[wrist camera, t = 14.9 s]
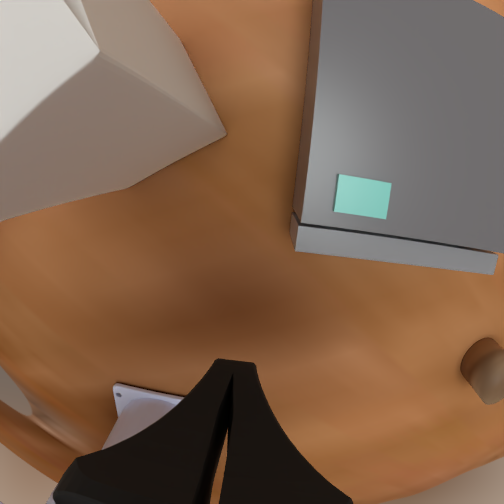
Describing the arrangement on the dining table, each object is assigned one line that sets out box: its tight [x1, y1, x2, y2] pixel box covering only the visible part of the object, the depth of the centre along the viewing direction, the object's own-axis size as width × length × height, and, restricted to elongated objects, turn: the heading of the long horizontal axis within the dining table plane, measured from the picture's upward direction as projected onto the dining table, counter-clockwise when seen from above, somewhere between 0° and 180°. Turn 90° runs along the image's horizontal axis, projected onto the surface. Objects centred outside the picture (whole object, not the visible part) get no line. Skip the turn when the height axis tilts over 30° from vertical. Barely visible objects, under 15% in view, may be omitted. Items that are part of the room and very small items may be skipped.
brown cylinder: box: [461, 338, 504, 405], centre depth 19 cm, size 4×4×4 cm
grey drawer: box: [290, 212, 498, 275], centre depth 15 cm, size 14×12×4 cm
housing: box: [292, 0, 504, 253], centre depth 14 cm, size 14×12×6 cm
